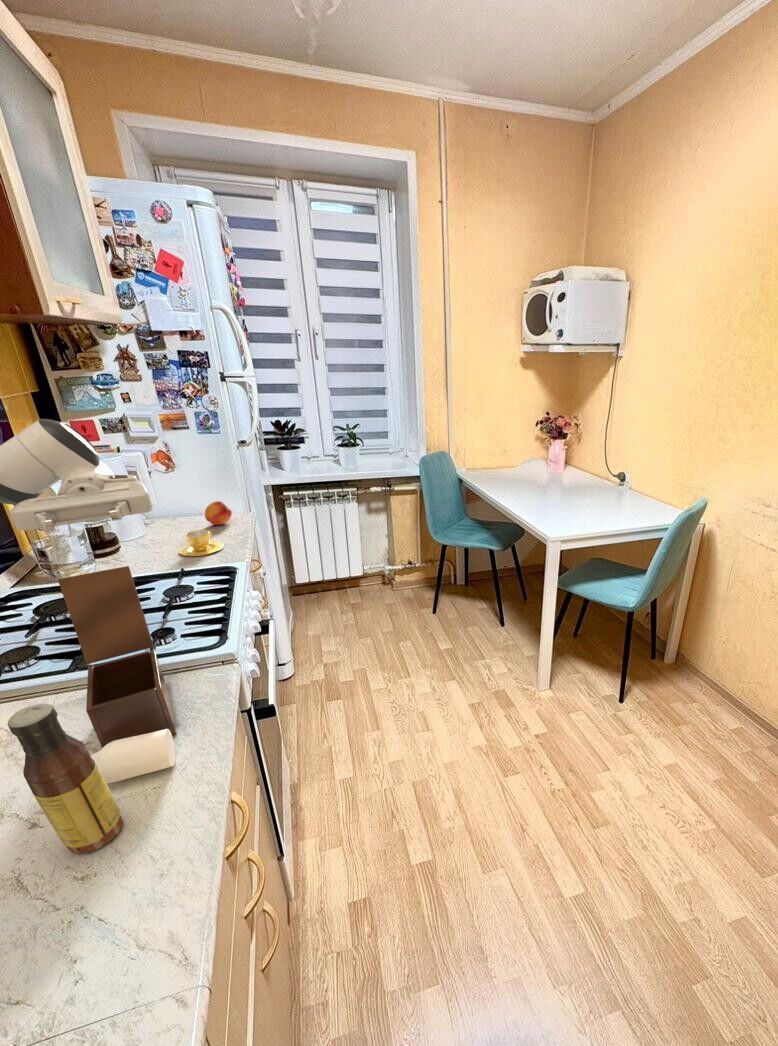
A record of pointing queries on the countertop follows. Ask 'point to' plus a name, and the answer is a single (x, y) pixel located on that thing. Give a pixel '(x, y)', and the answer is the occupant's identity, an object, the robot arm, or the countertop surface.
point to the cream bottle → (136, 756)
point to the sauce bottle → (65, 780)
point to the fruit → (217, 513)
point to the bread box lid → (106, 613)
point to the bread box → (128, 698)
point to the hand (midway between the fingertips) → (82, 520)
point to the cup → (200, 543)
